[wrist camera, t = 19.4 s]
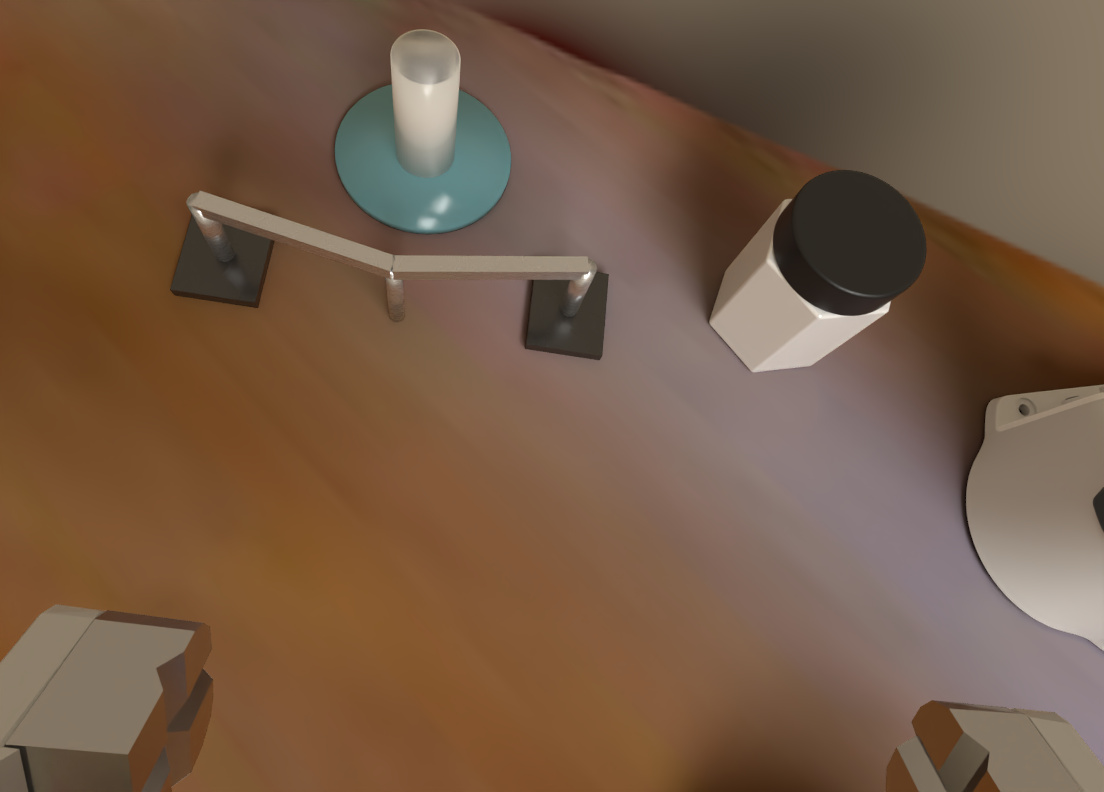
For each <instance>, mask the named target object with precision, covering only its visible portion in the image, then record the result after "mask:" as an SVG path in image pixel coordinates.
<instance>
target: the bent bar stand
mask: <svg viewBox="0 0 1104 792" xmlns="http://www.w3.org/2000/svg"><path fill="white" fill-rule="evenodd" d="M187 206H188V208H189V210H190V211H191V213H192V217H191V221H190V224H189V227H188V231H187V234H186V238H185V241H184V245H183V248H182V251H181V255H180V258H179V262H178V265H177V268H176V272H175V275H174V279H173V282H172V286H171V289H170V290H171V291H172V293H173V294H174V295H176V296H183V297H189V298H196V299H202V300H209V301H215V302H222V303H229V304H235V305H242V306H248V307H255V308H258V305H259V301H260V297H261V293H262V289H263V285H264V281H265V277H266V273H267V269H268V265H269V261H270V257H271V253H272V249H273V245H274V241H277V242H280V243H283V244H286V245H289V246H292V247H295V248H298V249H301V250H304V251H307V252H310V253H313V254H316V255H319V256H322V257H325V258H328V259H331V260H334V261H337V262H340V263H343V264H346V265H349V266H352V267H355V268H358V269H361V270H364V271H367V272H370V273H373V274H376V275H379V276H382V277H385V281H386V291H387V300H388V310H389V317H390V319H391V320H392V321H395V322H399V321H402V320H403V319H404V317H405V308H404V290H403V280H533V286H532V294H531V303H530V311H529V320H528V329H527V337H526V346H525V349H530V350H536V351H543V352H549V353H556V354H563V355H569V356H576V357H582V358H589V359H595V360H600V358H601V357H602V351H603V339H604V326H605V314H606V301H607V289H608V276H609V274H604V273H598V272H596V271H597V266H596V264H595V262H594V261H593V260H591V259H588V257H569V256H404V255H392V254H389V253H386V252H383V251H380V250H377V249H374V248H371V247H368V246H365V245H362V244H359V243H356V242H353V241H350V240H347V239H344V238H341V237H338V236H335V235H332V234H329V233H326V232H323V231H320V230H317V229H314V228H311V227H308V226H305V225H302V224H299V223H296V222H293V221H290V220H287V219H284V218H281V217H278V216H275V215H272V214H269V213H266V212H263V211H260V210H257V209H254V208H251V207H248V206H245V205H242V204H239V203H236V202H233V201H230V200H227V199H224V198H221V197H218V196H215V195H212V194H209V193H206V192H203V191H199V193H194V194H192V195H190V196H189V197H188V199H187Z"/></svg>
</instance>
